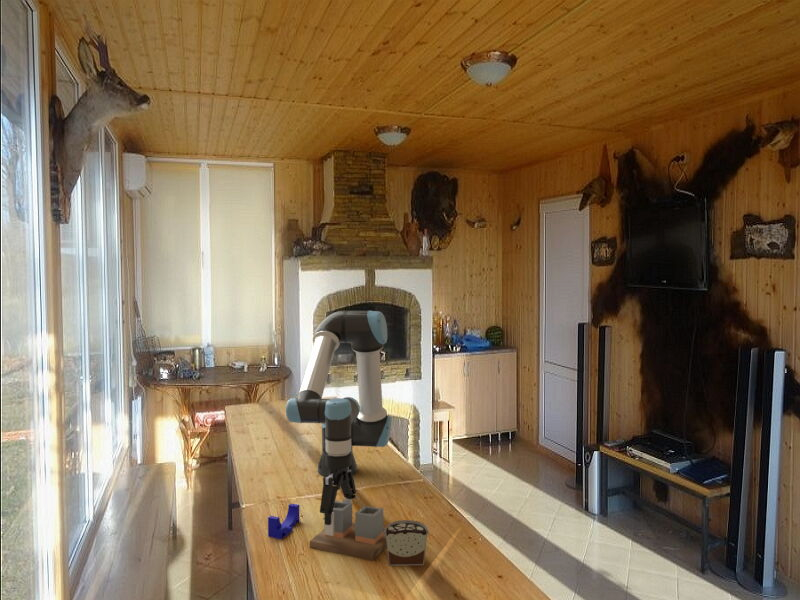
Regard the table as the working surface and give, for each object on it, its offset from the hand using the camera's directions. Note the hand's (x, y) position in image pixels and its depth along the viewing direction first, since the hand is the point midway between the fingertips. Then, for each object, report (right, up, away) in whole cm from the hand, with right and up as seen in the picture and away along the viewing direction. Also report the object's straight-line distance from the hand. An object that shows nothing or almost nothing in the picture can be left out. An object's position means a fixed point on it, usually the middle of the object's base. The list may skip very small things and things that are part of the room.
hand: (338, 527), depth 175 cm
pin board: (+5, -4, -2) cm, 6 cm away
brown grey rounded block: (+20, -4, -12) cm, 24 cm away
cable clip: (-17, -4, +6) cm, 18 cm away
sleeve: (0, -2, 0) cm, 2 cm away
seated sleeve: (+9, -2, -4) cm, 10 cm away
